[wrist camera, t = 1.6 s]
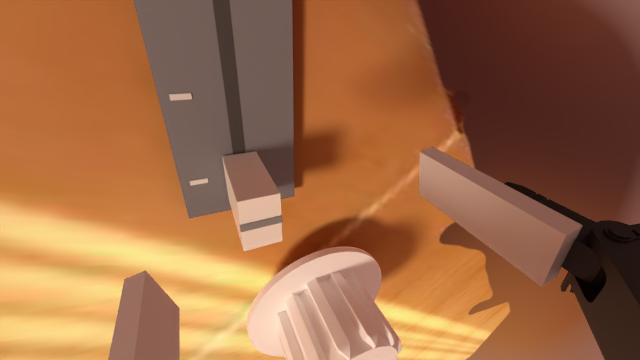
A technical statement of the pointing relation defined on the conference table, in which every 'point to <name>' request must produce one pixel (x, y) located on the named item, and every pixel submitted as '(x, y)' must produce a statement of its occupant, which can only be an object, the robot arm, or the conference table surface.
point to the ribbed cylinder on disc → (323, 310)
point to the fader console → (222, 89)
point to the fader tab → (253, 200)
